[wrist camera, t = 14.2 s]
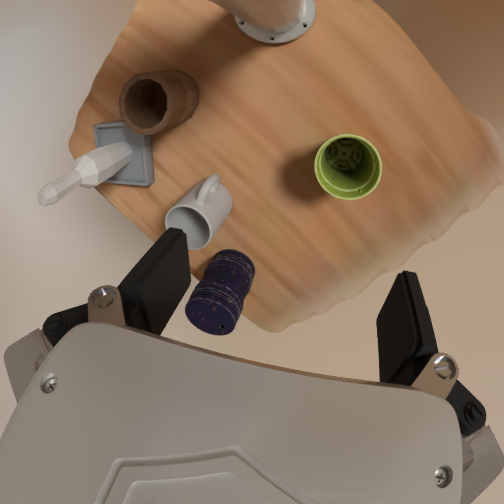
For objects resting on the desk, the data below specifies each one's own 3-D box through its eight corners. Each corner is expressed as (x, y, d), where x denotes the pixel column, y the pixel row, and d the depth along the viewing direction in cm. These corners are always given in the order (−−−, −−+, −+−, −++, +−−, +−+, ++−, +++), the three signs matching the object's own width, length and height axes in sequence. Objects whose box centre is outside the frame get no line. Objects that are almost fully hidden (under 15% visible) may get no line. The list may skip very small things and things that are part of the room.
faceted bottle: (134, 137, 47) (48, 181, 29) (137, 167, 51) (58, 221, 33) (111, 137, 48) (27, 179, 30) (113, 165, 52) (36, 215, 34)
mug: (223, 226, 55) (203, 259, 47) (186, 208, 55) (159, 236, 46) (246, 176, 48) (227, 201, 39) (204, 155, 48) (175, 176, 39)
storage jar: (204, 267, 63) (176, 314, 51) (226, 240, 57) (198, 288, 45) (239, 292, 65) (219, 342, 53) (264, 268, 59) (246, 321, 47)
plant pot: (375, 130, 38) (387, 140, 31) (367, 183, 43) (375, 204, 36) (318, 121, 40) (317, 129, 33) (313, 175, 45) (311, 195, 38)
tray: (101, 122, 48) (93, 125, 46) (150, 119, 45) (142, 121, 43) (107, 178, 55) (101, 182, 53) (154, 181, 53) (148, 186, 51)
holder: (149, 74, 40) (118, 77, 33) (199, 69, 39) (173, 69, 31) (150, 124, 46) (121, 135, 39) (198, 124, 44) (173, 134, 37)
